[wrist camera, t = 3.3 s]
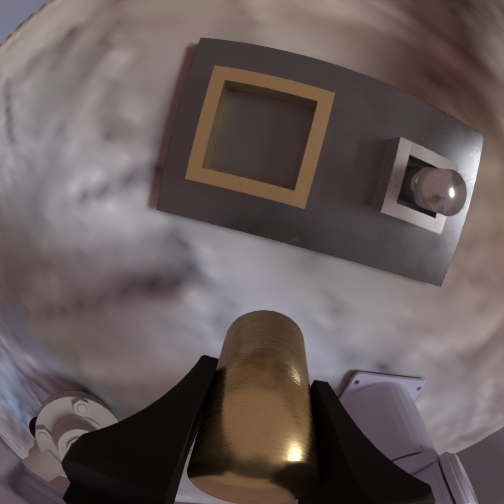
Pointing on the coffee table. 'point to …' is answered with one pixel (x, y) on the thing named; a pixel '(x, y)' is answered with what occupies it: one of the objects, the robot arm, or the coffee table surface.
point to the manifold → (319, 159)
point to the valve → (63, 429)
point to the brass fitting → (258, 417)
